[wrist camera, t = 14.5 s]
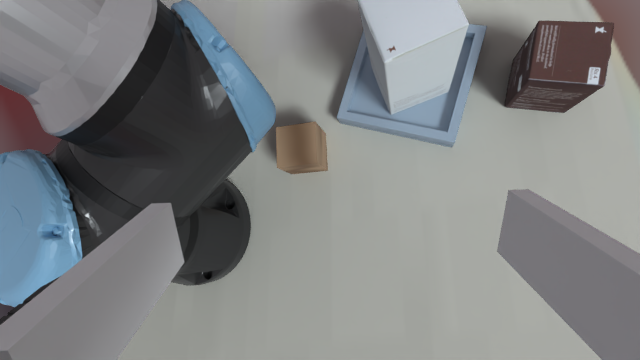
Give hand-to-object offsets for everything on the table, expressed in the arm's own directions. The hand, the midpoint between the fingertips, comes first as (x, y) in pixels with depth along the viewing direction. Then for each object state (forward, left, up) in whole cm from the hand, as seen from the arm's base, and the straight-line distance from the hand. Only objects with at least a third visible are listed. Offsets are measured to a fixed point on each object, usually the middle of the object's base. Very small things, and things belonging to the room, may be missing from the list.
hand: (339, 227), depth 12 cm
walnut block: (-12, +6, -26) cm, 29 cm away
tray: (-2, +18, -26) cm, 32 cm away
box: (+12, +20, -26) cm, 35 cm away
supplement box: (-2, +18, -25) cm, 31 cm away
